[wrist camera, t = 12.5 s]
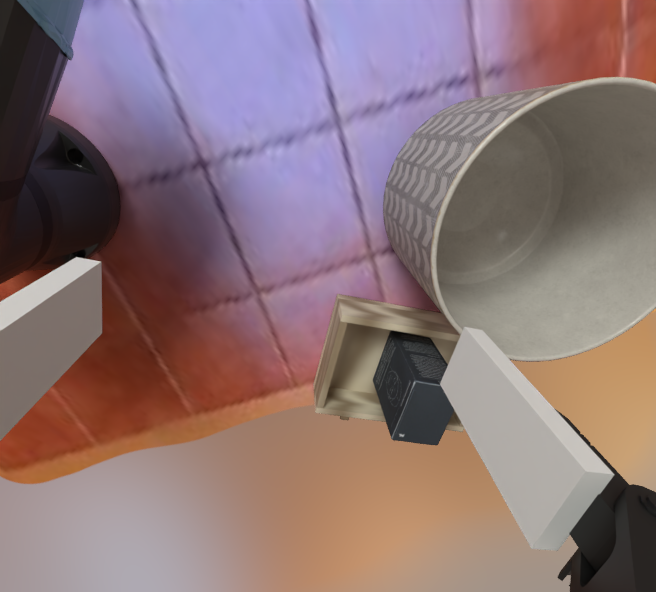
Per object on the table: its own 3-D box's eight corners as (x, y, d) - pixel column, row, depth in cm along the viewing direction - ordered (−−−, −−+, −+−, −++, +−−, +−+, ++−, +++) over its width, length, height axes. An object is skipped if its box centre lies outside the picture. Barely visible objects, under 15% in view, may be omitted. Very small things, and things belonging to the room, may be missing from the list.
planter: (508, 56, 36) (689, -5, 19) (569, 217, 43) (738, 273, 27) (344, 172, 39) (378, 205, 23) (426, 304, 46) (497, 402, 30)
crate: (312, 387, 50) (314, 415, 45) (337, 293, 45) (342, 314, 40) (445, 405, 53) (461, 434, 48) (484, 320, 48) (505, 343, 43)
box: (411, 385, 50) (438, 447, 40) (371, 379, 49) (389, 440, 39) (432, 336, 47) (466, 390, 37) (390, 328, 46) (414, 381, 36)
